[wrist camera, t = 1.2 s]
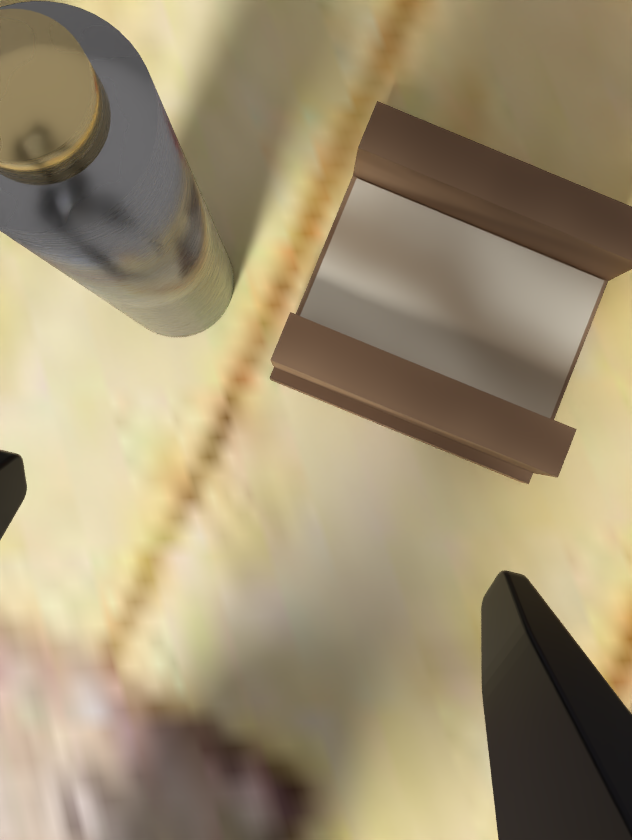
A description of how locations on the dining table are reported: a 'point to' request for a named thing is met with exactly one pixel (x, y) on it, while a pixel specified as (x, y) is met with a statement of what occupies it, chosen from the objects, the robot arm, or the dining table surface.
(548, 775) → the robot arm
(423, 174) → the cradle
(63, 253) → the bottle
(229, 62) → the dining table surface
